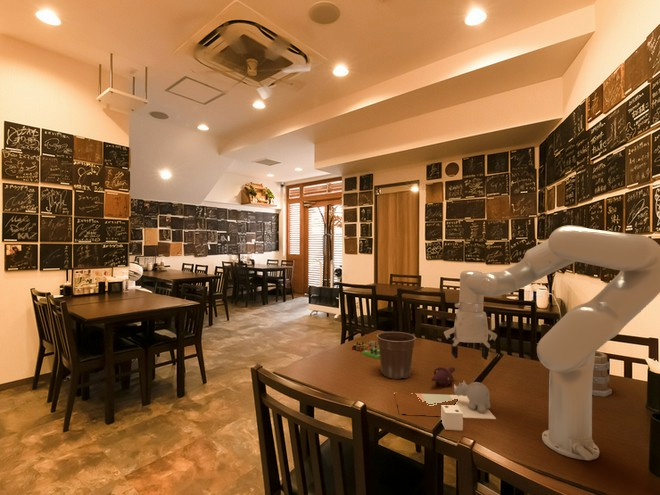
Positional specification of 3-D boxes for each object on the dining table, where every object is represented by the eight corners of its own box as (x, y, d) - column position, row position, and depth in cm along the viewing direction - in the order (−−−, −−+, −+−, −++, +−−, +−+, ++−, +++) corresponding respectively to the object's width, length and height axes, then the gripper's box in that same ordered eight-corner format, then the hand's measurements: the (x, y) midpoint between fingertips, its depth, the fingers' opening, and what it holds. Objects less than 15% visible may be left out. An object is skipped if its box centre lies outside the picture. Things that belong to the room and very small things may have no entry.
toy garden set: (377, 360, 160) (377, 350, 160) (349, 350, 174) (349, 342, 174) (405, 350, 175) (406, 342, 175) (377, 342, 190) (377, 334, 190)
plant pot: (380, 365, 152) (380, 329, 152) (417, 369, 147) (417, 333, 147) (372, 378, 137) (373, 339, 137) (413, 384, 131) (413, 343, 131)
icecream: (442, 376, 123) (463, 370, 132) (426, 366, 128) (447, 361, 138) (437, 393, 124) (458, 386, 133) (421, 382, 129) (442, 376, 139)
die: (462, 430, 98) (462, 413, 98) (445, 429, 99) (445, 412, 99) (457, 421, 103) (457, 405, 103) (440, 420, 104) (441, 404, 104)
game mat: (496, 419, 105) (496, 418, 105) (399, 414, 107) (399, 414, 107) (477, 396, 121) (477, 395, 121) (393, 393, 123) (393, 392, 123)
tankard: (599, 384, 132) (599, 346, 132) (617, 398, 120) (617, 356, 120) (542, 378, 137) (542, 342, 137) (553, 391, 125) (554, 351, 125)
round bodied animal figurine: (459, 396, 120) (459, 373, 120) (493, 408, 111) (493, 383, 111) (449, 402, 115) (449, 378, 115) (484, 416, 106) (484, 389, 106)
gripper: (447, 308, 110) (446, 360, 110) (502, 310, 109) (500, 362, 109) (442, 304, 118) (440, 352, 118) (493, 306, 116) (491, 355, 117)
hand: (469, 357), depth 114 cm, fingers open, 9 cm apart
